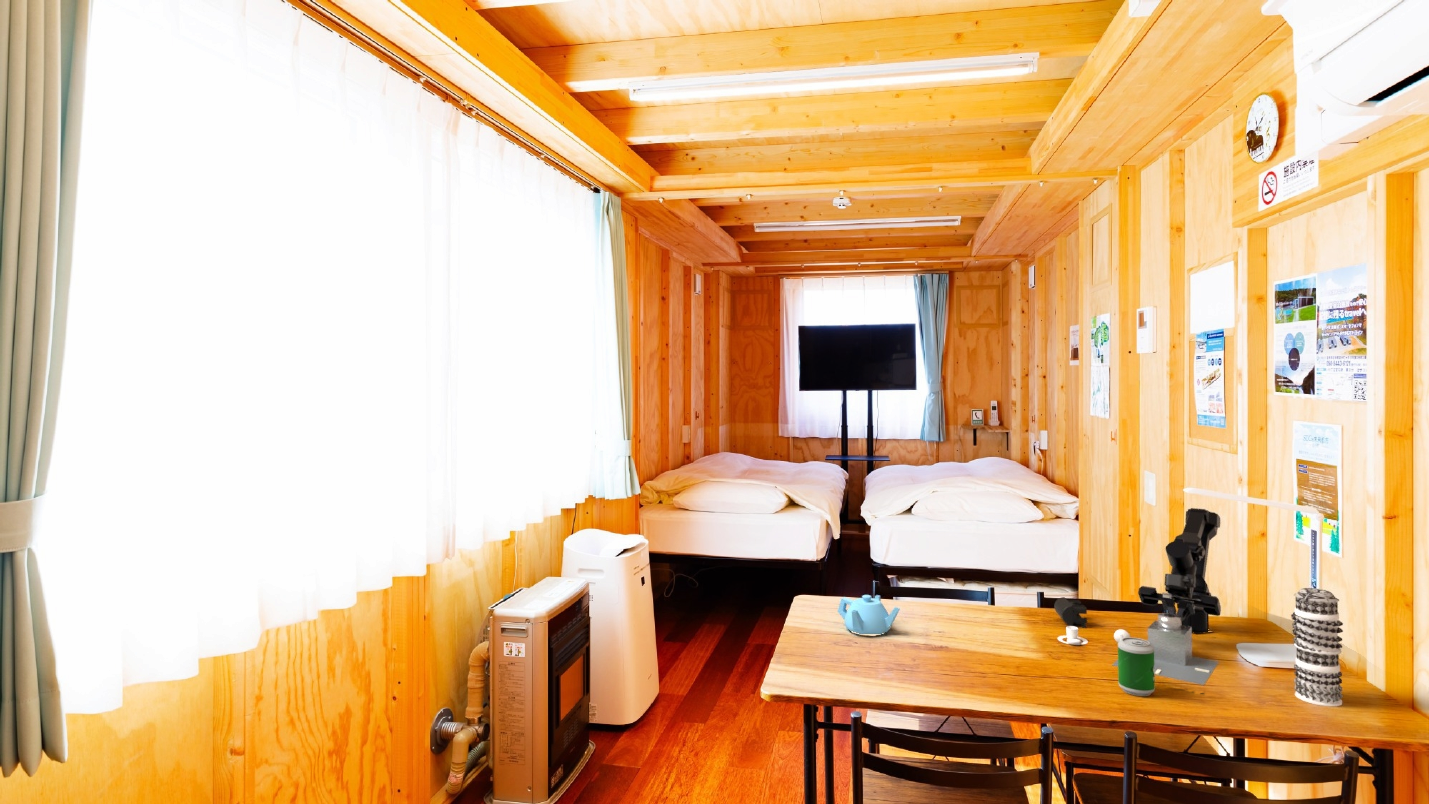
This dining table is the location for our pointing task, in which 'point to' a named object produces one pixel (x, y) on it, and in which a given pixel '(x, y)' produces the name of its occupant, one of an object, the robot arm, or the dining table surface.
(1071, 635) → the teacup and saucer
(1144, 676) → the soda can
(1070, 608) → the end cap
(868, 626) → the teapot
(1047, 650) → the dining table surface
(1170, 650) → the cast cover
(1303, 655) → the decorative candle
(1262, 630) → the dining table surface
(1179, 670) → the turntable plate
